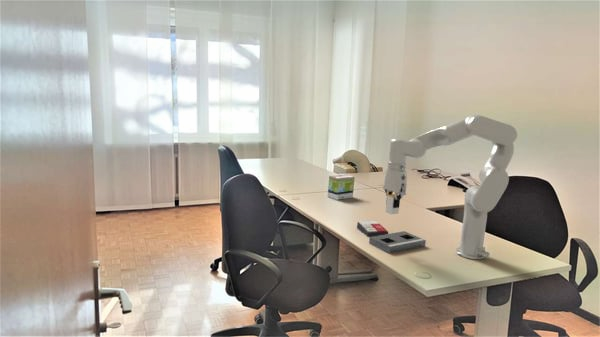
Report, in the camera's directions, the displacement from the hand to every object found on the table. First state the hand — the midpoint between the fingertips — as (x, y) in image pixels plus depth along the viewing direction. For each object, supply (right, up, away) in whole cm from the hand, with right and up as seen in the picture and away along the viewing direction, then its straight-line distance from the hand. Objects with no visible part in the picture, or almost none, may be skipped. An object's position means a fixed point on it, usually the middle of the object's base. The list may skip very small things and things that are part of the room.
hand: (392, 205), depth 192 cm
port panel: (+3, -19, +6) cm, 20 cm away
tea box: (-15, -3, +93) cm, 94 cm away
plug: (0, -3, +1) cm, 3 cm away
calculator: (-5, -16, +24) cm, 29 cm away
